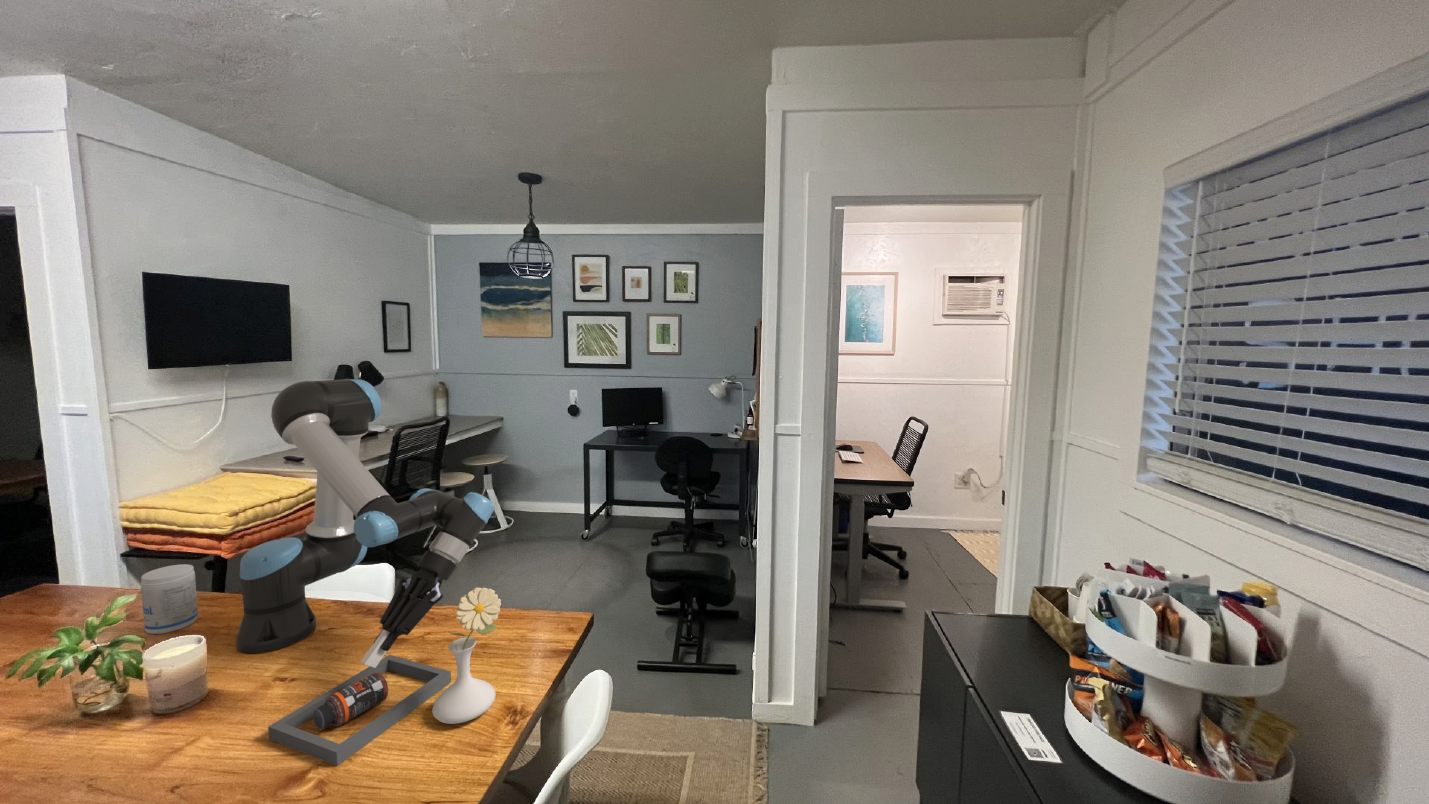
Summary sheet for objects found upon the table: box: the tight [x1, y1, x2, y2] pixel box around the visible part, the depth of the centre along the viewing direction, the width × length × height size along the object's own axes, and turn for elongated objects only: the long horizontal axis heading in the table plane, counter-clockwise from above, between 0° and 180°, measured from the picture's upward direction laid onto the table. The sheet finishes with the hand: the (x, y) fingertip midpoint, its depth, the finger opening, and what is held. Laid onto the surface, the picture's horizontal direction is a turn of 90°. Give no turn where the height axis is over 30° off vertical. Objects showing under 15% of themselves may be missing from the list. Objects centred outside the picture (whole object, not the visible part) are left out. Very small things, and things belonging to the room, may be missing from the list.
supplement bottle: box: [312, 673, 389, 731], centre depth 100 cm, size 6×6×11 cm
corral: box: [268, 654, 452, 767], centre depth 102 cm, size 18×24×2 cm
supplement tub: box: [140, 563, 199, 635], centre depth 132 cm, size 10×10×15 cm
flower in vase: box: [431, 587, 502, 725], centre depth 101 cm, size 13×11×25 cm
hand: (368, 664), depth 104 cm, fingers closed
